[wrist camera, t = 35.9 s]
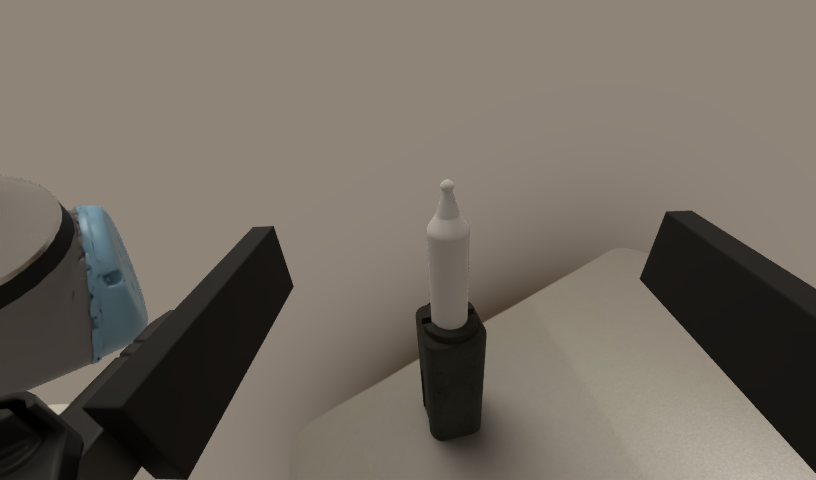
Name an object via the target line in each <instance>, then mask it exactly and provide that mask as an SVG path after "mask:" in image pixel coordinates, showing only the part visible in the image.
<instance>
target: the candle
mask: <svg viewBox="0 0 816 480" xmlns="http://www.w3.org/2000/svg"><path fill="white" fill-rule="evenodd" d="M453 188H454V184H453V183H452V181H450V180H444V181H443V182H442V183H441V189H442V194H441V198H440V201H439V205H438V208H437V211H436V214H435V216H434V217H433V218H432V220H431V221H430V223H429V224H428V226H427V247H428V264H429V283H430V301H431V302H430V303H429V304H427V305H425V306H422V307H420V308H419V309H418V310H417V312H416V325H417V336H418V347H419V358H420V369H421V381H422V392H423V403H424V406H426V409H427V412H428V416H429V423H430V432H431V434H432V435H433V437H435V438H436V439H438V440H441V441H444V440H449V439H453V438H457V437H461V436H465V435H469V434H473V433H475V432H476V431H478V429H479V428H480V424H481V409H482V394H483V379H484V364H485V349H486V329H485V327H484V325H483V324H482V322H481V320H480V318H479V316H478V314H477V313H476V311H475V309H474V307H473V306H472V304H471V303H470V302H468V278H469V234H470V229H469V225H468V223H467V222H466V221H465V219H464V218H463V217H462V216H461V214H460V213H459V210H458V207H457V204H456V201H455V198H454V195H453V192H452V190H453Z"/></svg>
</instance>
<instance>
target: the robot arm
mask: <svg viewBox="0 0 816 480" xmlns="http://www.w3.org/2000/svg"><path fill="white" fill-rule="evenodd" d="M640 280H641V281H642V282H643V283H644V284H645V285H646V287H647V288H648V289H649V290H650V291H651V292H652V293H653V294H654V295H655V297H656V298H657V299H658V300H659V301H660V302H661V303H662V304H663V305H664V306H665V308H666V309H667V310H668V311H669V312H670V313H671V314H672V315H673V316H674V317H675V319H676V320H677V321H678V322H679V323H680V324H681V325H682V326H683V327H684V329H685V330H686V331H687V332H688V333H689V334H690V335H691V336H692V337H693V338H694V340H695V341H696V342H697V343H698V344H699V345H700V346H701V347H702V348H703V349H704V351H705V352H706V353H707V354H708V355H709V356H710V357H711V358H712V359H713V361H714V362H715V363H716V364H717V365H718V366H719V367H720V368H721V369H722V370H723V372H724V373H725V374H726V375H727V376H728V377H729V378H730V379H731V380H732V382H733V383H734V384H735V385H736V386H737V387H738V388H739V389H740V390H741V391H742V393H743V394H744V395H745V396H746V397H747V398H748V399H749V400H750V401H751V402H752V404H753V405H754V406H755V407H756V408H757V409H758V410H759V411H760V412H761V414H762V415H763V416H764V417H765V418H766V419H767V420H768V421H769V422H770V423H771V425H772V426H773V427H774V428H775V429H776V430H777V431H778V432H779V433H780V434H781V436H782V437H783V438H784V439H785V440H786V441H787V442H788V443H789V444H790V446H791V447H792V448H793V449H794V450H795V451H796V452H797V453H798V454H799V455H800V457H801V458H802V459H803V460H804V461H805V462H806V463H807V464H808V465H809V466H810V468H811V469H812V470H813V471H814V472H815V473H816V289H815V288H814V287H812V286H810V285H809V284H807V283H806V282H804V281H802V280H801V279H799V278H798V277H796V276H795V275H793V274H791V273H790V272H788V271H787V270H785V269H783V268H781V267H780V266H779V265H777V264H775V263H774V262H772V261H771V260H769V259H767V258H766V257H764V256H763V255H761V254H760V253H758V252H756V251H755V250H753V249H751V248H750V247H748V246H747V245H745V244H744V243H742V242H740V241H739V240H737V239H736V238H734V237H733V236H731V235H729V234H727V233H726V232H725V231H723V230H721V229H720V228H718V227H717V226H715V225H713V224H712V223H710V222H709V221H707V220H706V219H704V218H702V217H700V216H699V215H697V214H696V213H694V212H693V211H672V212H671V211H669V212H666V213H665V216H664V219H663V221H662V224H661V226H660V228H659V231H658V234H657V236H656V239H655V242H654V244H653V246H652V249H651V251H650V254H649V257H648V259H647V262H646V264H645V267H644V269H643V272H642V274H641V277H640ZM292 289H293V283H292V280H291V277H290V274H289V271H288V268H287V265H286V262H285V259H284V256H283V253H282V250H281V247H280V244H279V241H278V238H277V235H276V232H275V229H274V226H268V227H253V228H252V229H251V230H250V231H249V232H248V233H247V234H246V235H245V236H244V237H243V238H242V239H241V240H240V241H239V242H238V243H237V244H236V246H235V247H234V248H233V249H232V250H231V251H230V252H229V253H228V254H227V255H226V256H225V257H224V258H223V259H222V260H221V261H220V263H218V264H217V266H216V267H215V268H214V269H213V270H212V271H211V272H210V273H209V274H208V275H207V276H206V277H205V278H204V279H203V280H202V281H201V282H200V283H199V284H198V286H197V287H196V288H195V289H194V290H193V291H192V292H191V293H190V294H189V295H188V296H187V297H186V298H185V299H184V300H183V301H182V303H180V304H179V306H178V307H177V308H176V309H175V310H170V311H168V312H167V313H165V314H164V315H162V316H161V317H159V318H158V319H156V320H155V321H153V322H152V323H150V324H149V325H148V326H147V324H148V316H147V311H146V306H145V302H144V299H143V295H142V292H141V289H140V286H139V283H138V280H137V277H136V274H135V271H134V269H133V266H132V264H131V261H130V258H129V256H128V254H127V251H126V248H125V246H124V244H123V242H122V239H121V237H120V235H119V233H118V231H117V229H116V227H115V225H114V223H113V221H112V219H111V218H110V216H109V214H108V213H107V212H106V211H105V210H103V208H101V207H98V206H81V205H79V206H76V207H74V208H73V209H72V210H69V211H67V210H65V208H64V207H63V206H62V205H61V204H60V203H59V202H58V200H57V199H56V198H55V197H54V196H53V195H52V194H51V193H50V192H49V191H48V190H46V189H45V188H43V187H42V186H40V185H38V184H35V183H33V182H31V181H27V180H24V179H21V178H16V177H10V176H2V175H0V480H133V479H134V477H135V476H136V474H137V473H138V471H139V470H140V468H141V467H143V468H144V469H146V471H148V472H149V473H150V474H151V475H152V476H153V477H154V478H155V479H178V480H179V479H180V480H187V479H188V478H189V476H190V474H191V472H192V470H193V469H194V467H195V465H196V463H197V461H198V459H199V458H200V456H201V454H202V452H203V450H204V449H205V447H206V445H207V443H208V441H209V440H210V438H211V436H212V434H213V432H214V430H215V429H216V427H217V425H218V423H219V421H220V420H221V418H222V416H223V414H224V412H225V410H226V409H227V407H228V405H229V403H230V401H231V400H232V398H233V396H234V394H235V392H236V390H237V388H238V387H239V385H240V383H241V381H242V380H243V377H244V376H245V374H246V372H247V370H248V369H249V367H250V365H251V363H252V361H253V359H254V358H255V356H256V354H257V352H258V350H259V349H260V347H261V345H262V343H263V341H264V340H265V338H266V336H267V334H268V332H269V330H270V328H271V327H272V325H273V323H274V321H275V320H276V318H277V316H278V314H279V312H280V310H281V309H282V307H283V305H284V303H285V301H286V300H287V298H288V296H289V294H290V292H291V290H292ZM127 345H128V347H126V348H125V349H124V350H123V351H122V352H121V353H120V357H119V358H115V359H114V361H112V362H111V363H110V364H109V365H108V366H107V367H106V369H104V370H103V371H102V372H101V373H100V375H98V376H97V377H96V379H94V380H93V381H92V382H91V383H90V384H89V386H88V387H87V388H86V389H85V390H84V391H83V392H82V393H81V394H80V395H79V396H78V397H77V398H76V399H75V400H74V401H73V402H72V403H71V404H70V405H69V406H68V407H67V408H66V409H65V410H64V411H63V412H62V413H61V414H59V415H57V414H56V413H55V412H54V411H53V410H52V409H51V408H49V407H48V406H47V405H46V404H45V403H44V402H43V401H41V400H40V399H39V398H38V397H37V396H36V395H34V394H32V393H30V392H28V391H27V390H30V389H32V388H35V387H37V386H39V385H42V384H44V383H46V382H49V381H51V380H53V379H56V378H58V377H61V376H63V375H65V374H68V373H70V372H72V371H75V370H77V369H79V368H82V367H84V366H87V365H89V364H94V363H97V362H99V361H100V360H101V359H102V357H104V356H106V355H108V354H111V353H113V352H114V351H117V350H119V349H121V348H123V347H125V346H127Z"/></svg>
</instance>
